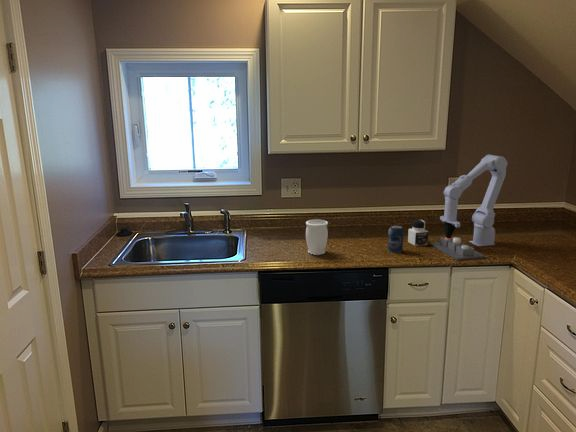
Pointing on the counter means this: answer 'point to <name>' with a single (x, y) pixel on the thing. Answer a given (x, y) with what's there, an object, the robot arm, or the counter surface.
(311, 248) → the jar
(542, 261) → the counter surface
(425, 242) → the medicine bottle
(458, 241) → the key ivory
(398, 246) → the soda can
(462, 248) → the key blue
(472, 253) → the keypad base
